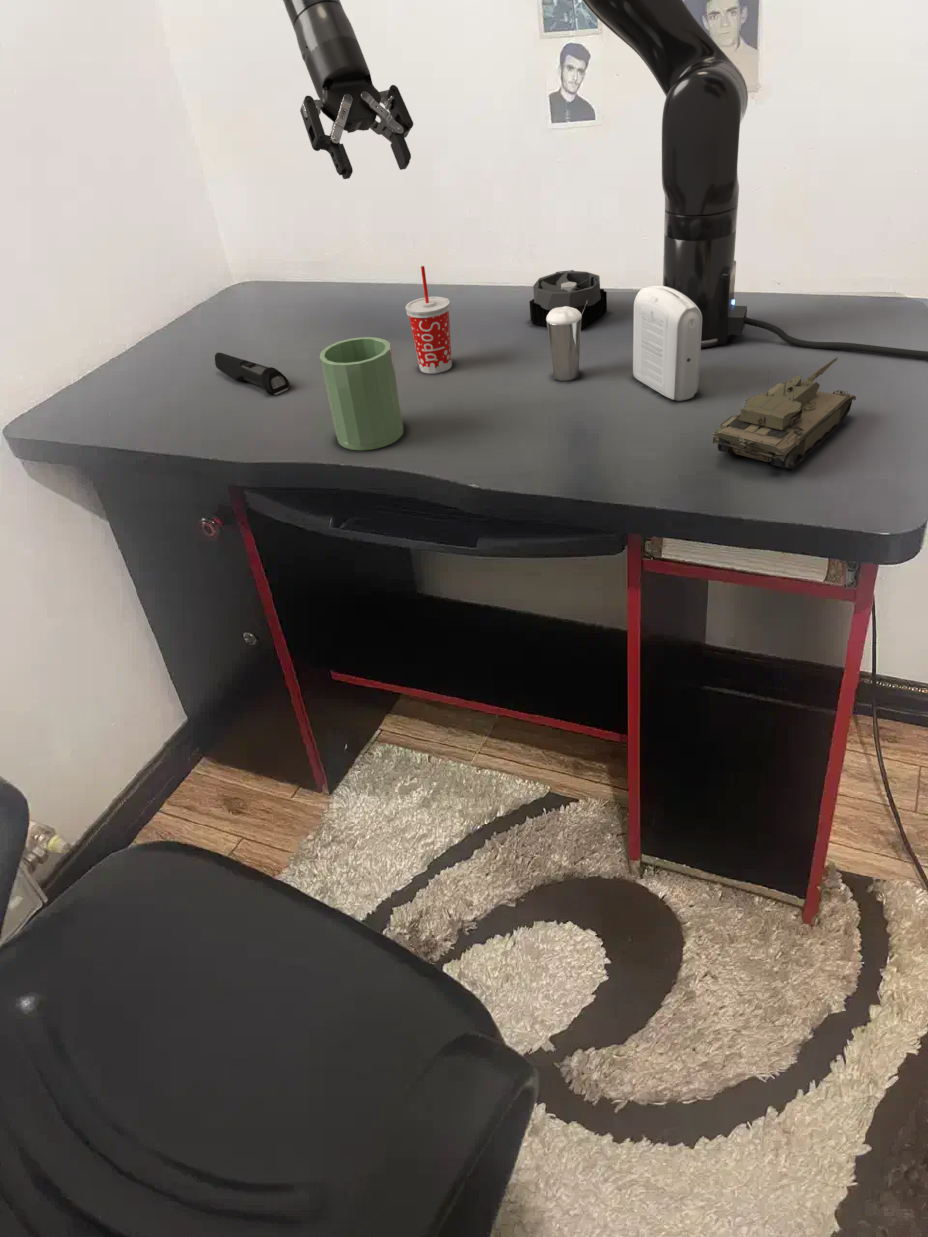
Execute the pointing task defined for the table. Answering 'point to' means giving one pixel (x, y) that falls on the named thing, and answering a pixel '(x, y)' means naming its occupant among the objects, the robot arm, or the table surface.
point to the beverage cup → (431, 331)
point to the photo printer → (667, 342)
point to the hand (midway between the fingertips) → (377, 170)
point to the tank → (784, 422)
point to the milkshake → (564, 341)
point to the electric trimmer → (252, 373)
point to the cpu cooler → (568, 296)
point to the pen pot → (362, 393)
